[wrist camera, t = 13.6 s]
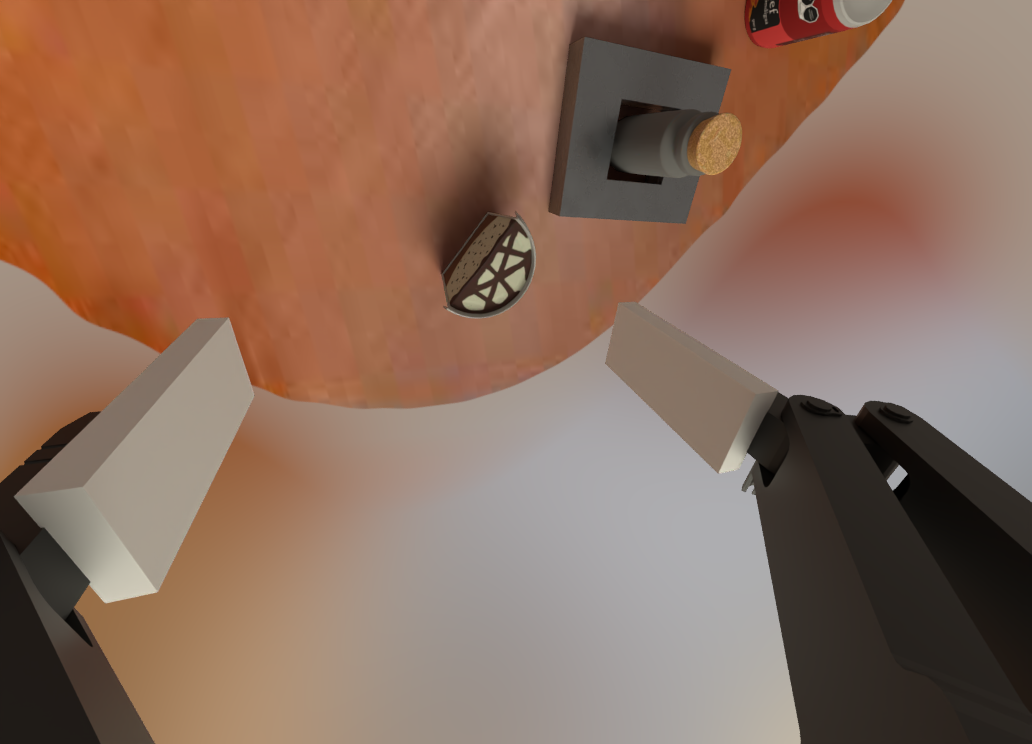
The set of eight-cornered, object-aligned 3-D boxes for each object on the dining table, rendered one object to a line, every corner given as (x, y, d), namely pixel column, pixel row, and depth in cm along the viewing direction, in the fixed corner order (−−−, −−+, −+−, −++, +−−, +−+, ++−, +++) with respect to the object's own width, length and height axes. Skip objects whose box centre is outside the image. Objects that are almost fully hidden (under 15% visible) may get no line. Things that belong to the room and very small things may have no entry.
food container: (472, 310, 50) (490, 343, 42) (434, 284, 47) (445, 313, 39) (531, 234, 47) (563, 253, 39) (495, 201, 44) (521, 214, 36)
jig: (569, 44, 39) (584, 36, 36) (708, 74, 44) (731, 69, 41) (548, 211, 46) (559, 216, 44) (668, 219, 52) (685, 223, 49)
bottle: (618, 183, 47) (703, 196, 35) (597, 140, 44) (682, 138, 32) (655, 149, 47) (755, 151, 34) (636, 103, 43) (738, 86, 31)
